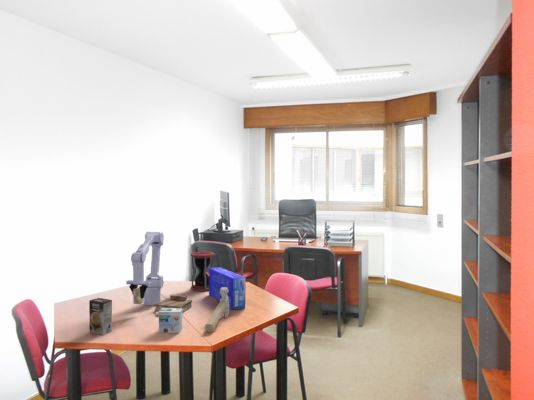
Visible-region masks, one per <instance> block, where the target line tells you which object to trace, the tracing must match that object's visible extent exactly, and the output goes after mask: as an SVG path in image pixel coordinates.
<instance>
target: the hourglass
mask: <svg viewBox="0 0 534 400" xmlns="http://www.w3.org/2000/svg"><path fill="white" fill-rule="evenodd" d="M214 256H215V253H214V252H213V251H195V252H191V253H190V257H191V268H192V270H193V274H192V275H191V286H190V290H192V291H194V292H209V274H208V273H207V268H208V267H209V266H210V267H209V268H214V267H213V266H214ZM194 264H195V266H196V267H197V268H198V269H199V273H198V274H197V275H196V273H197V271H196V268H195V267H194ZM210 264H211V265H210ZM195 275H196V277H195ZM194 277H195V278H194Z"/></svg>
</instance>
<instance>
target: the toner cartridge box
mask: <svg viewBox="0 0 534 400" xmlns="http://www.w3.org/2000/svg"><path fill="white" fill-rule="evenodd" d="M208 273H209V274H208V276H209V291H208V296H210V297H212V298H213V299H215V300H217V301H218V302H220V299H221V298H222V295H221V294H220V289H221V288H222V287H226V288H228V290H229V291H228V293H227V295H228V297H229V309H232V310H239V309H245V308H246V283H247V282H246V279H247V278H246V277H245V276H242V275H239V274H238V273H235V272H233V271H230V270H228V269H226V268H224V267H221V266H220V267H219V266H218V267H212V268H210V267H209V271H208Z"/></svg>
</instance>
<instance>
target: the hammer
mask: <svg viewBox="0 0 534 400" xmlns="http://www.w3.org/2000/svg"><path fill="white" fill-rule="evenodd" d="M228 291H229V290H228V288H226V287H222V288H221V289H220V294H221V295H222V298H221V299H220V301H219V303H218V305H217V306H216V308H215V309H214V311H213V312H212V314H211V316H210V318H209V319H208V320H207V321H206V323H205V326H204V329H205V331H206V332H207V333H213V331H214V330H215V329H216V327H217V325H218V323H219V320H220V319H221V318H229V314H230V307H229V297H228V295H227V293H228Z"/></svg>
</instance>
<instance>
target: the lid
mask: <svg viewBox="0 0 534 400" xmlns="http://www.w3.org/2000/svg"><path fill="white" fill-rule="evenodd" d="M191 302H192V303H193V300H191V299H187V296H186V295H178V294H177V295H176V294H170V295H169V297H166V298H165V299H163V300H161V301H160V302H158V303H156V304H155V305H154V307H155V306H159V307H169V308H183V307H184V306H186V305H188V304H190V303H191Z"/></svg>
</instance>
